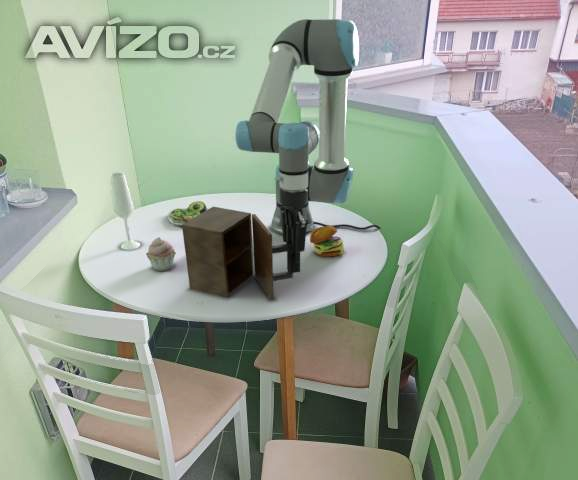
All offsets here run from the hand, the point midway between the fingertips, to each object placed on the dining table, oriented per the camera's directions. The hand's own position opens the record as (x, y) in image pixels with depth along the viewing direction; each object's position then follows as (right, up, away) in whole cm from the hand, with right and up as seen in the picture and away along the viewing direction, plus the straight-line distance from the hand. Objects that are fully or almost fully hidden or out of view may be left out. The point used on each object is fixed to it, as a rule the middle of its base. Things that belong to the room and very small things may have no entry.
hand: (293, 270), depth 163 cm
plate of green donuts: (-38, +30, +52) cm, 71 cm away
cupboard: (-22, -2, +9) cm, 24 cm away
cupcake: (-42, +5, +18) cm, 46 cm away
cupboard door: (-6, -3, +7) cm, 10 cm away
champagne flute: (-56, +15, +32) cm, 66 cm away
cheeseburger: (+11, +11, +27) cm, 31 cm away
